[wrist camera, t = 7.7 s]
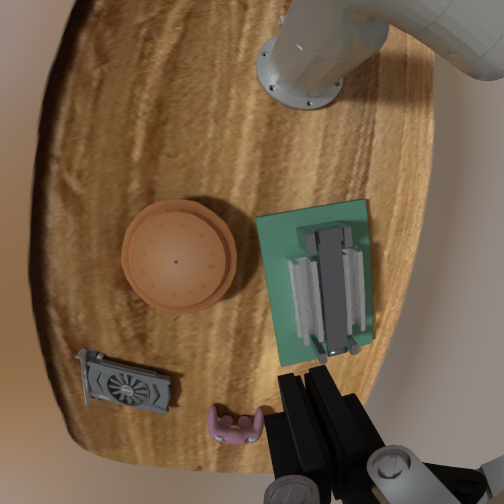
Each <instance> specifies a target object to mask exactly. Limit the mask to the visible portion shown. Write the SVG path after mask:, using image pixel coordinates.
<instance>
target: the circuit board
mask: <svg viewBox="0 0 504 504" xmlns="http://www.w3.org/2000/svg"><path fill="white" fill-rule="evenodd" d="M255 219H256V224H257V230H258V236H259V242H260V247H261V253H262V259H263V265H264V271H265V276H266V282H267V288H268V294H269V300H270V306H271V312H272V318H273V324H274V330H275V336H276V342H277V348H278V354H279V360H280V364H281V367H283V366H287V365H292V364H296V363H300V362H305V361H309V360H313V359H317V356H316V354H315V352H314V350H313V348H312V346H311V344H310V336H309V345H308V346H304V344H303V341H302V339H301V338H298V336H297V334H296V332H295V325H294V317H293V310H292V303H291V295H290V288H289V282H288V275H287V268H286V261H285V257H287V256H292V255H297V254H302V253H306V252H305V251H304V250H303V249H302V248H301V247H300V246H299V245H298V240H297V233H296V227H302V226H307V225H313V224H318V223H324V222H329V221H338V222H340V223H343V224H345V225H348V226H350V227H351V233H352V243H353V245H355V246H357V249H359V250H361V251H362V256H363V271H364V291H365V330H364V331H360V329H359V328H358V327H357V326H356V325H355V324H353V325H352V334H350V335H351V336H352V337H353V338H354V340H355V341H356V342H357V344H358V347H360V346H364V345H367V344H370V343H372V336H373V310H372V275H371V257H370V242H369V230H368V219H367V209H366V200H365V199H358V200H352V201H345V202H339V203H333V204H327V205H321V206H315V207H309V208H303V209H297V210H291V211H285V212H280V213H274V214H269V215H263V216H258V217H255ZM323 333H324V342H321V344H322V346H323V348H324V349H325V351H326V353H327V346H326V332H323ZM327 356H328V354H327Z"/></svg>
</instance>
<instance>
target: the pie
mask: <svg viewBox="0 0 504 504" xmlns="http://www.w3.org/2000/svg"><path fill="white" fill-rule="evenodd" d="M121 264H122V267H123V270H124V272H125V275H126V278H127V280H128V282H129V283H130V285H131V286H132V288H133V289H134V291H135V292H136V293H137V294H138V295H139V296H140V297H141V298H142V299H143V300H144V301H145V302H146V303H147V304H149V305H151V306H153V307H155V308H157V309H159V310H161V311H164V312H169V313H174V314H184V313H193V312H196V311H200V310H203V309H207V308H209V307H210V306H211V305H213V304H214V303H216V302H217V301H218V300H220V299H221V298H222V296H223V295H224V294H225V292H226V291H227V290H228V289H229V287H230V286H231V283H232V281H233V278H234V276H235V274H236V269H237V250H236V245H235V239H234V237H233V235H232V233H231V231H230V229H229V227H228V225H227V223H226V222H225V221H224V220H222V219H221V218H220V217H219V216H218V215H217V214H215V213H214V212H213V211H211V210H210V209H208V208H207V207H205V206H203V205H202V204H200V203H199V202H196V201H191V200H186V199H165V200H161V201H159V202H156V203H154V204H151V205H149V206H147V207H146V208H145V209H144V210H142V211H141V212H140V213H139V214H138V215H137V216H136V217H135V218H134V220H133V221H132V223H131V224H130V226H129V228H128V229H127V231H126V234H125V238H124V242H123V246H122V260H121Z"/></svg>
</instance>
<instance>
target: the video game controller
mask: <svg viewBox="0 0 504 504" xmlns="http://www.w3.org/2000/svg"><path fill="white" fill-rule="evenodd" d="M232 423H233V419H232V417H231V416H228V415H224V416H223V417H222V418H221V419H220V421H218V419H217V410H216V406H215V405H212V406H211V407H210V410H209V418H208V427H209V435H210V437H211V438H213V439H214V440H218V441H220V442H223V443H227V444H234V445H240V444H247V443H253V442H255V441H257V440H258V439H259V438H260V437H261V435H262V431H263V424H264V414H263V409H262V408H261V407H259V408H258V409H257V411H256V414H255V417H254V422H253V423H252V422H251V421H250V419H249V418H248V417H247V416H242V417H240V418H239V419H238V422H237V423H238V426H239V427H240V428H241V429H237V428H230V427H231V425H232Z"/></svg>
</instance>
